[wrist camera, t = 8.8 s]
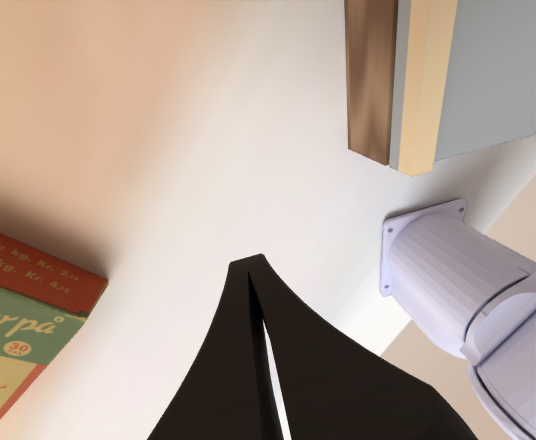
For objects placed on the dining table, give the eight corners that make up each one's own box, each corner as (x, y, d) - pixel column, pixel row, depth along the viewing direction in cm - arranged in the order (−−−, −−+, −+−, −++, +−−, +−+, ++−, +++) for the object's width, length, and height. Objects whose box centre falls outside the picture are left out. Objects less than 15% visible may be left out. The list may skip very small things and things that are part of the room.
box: (492, 112, 19) (563, 119, 16) (348, 148, 18) (385, 165, 15) (565, -186, 12) (726, -308, 9) (340, -153, 11) (407, -276, 8)
